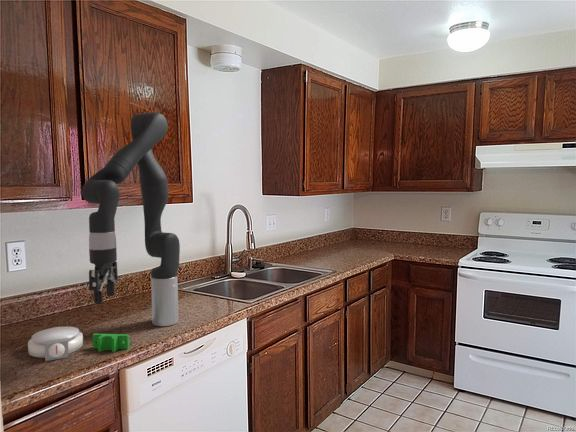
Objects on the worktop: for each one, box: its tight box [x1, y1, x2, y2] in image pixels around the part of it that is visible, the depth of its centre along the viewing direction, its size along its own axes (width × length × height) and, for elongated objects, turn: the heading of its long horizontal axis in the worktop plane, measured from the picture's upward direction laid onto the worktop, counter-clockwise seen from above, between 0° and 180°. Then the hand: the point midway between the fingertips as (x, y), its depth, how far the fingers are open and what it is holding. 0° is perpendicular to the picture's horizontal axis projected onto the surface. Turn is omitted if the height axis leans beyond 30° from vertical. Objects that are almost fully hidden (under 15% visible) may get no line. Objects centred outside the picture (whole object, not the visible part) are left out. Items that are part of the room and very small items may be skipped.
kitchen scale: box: [27, 326, 84, 362], centre depth 132 cm, size 18×15×5 cm
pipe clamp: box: [92, 333, 130, 353], centre depth 132 cm, size 11×4×5 cm, turn 86°
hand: (104, 299), depth 130 cm, fingers open, 8 cm apart
